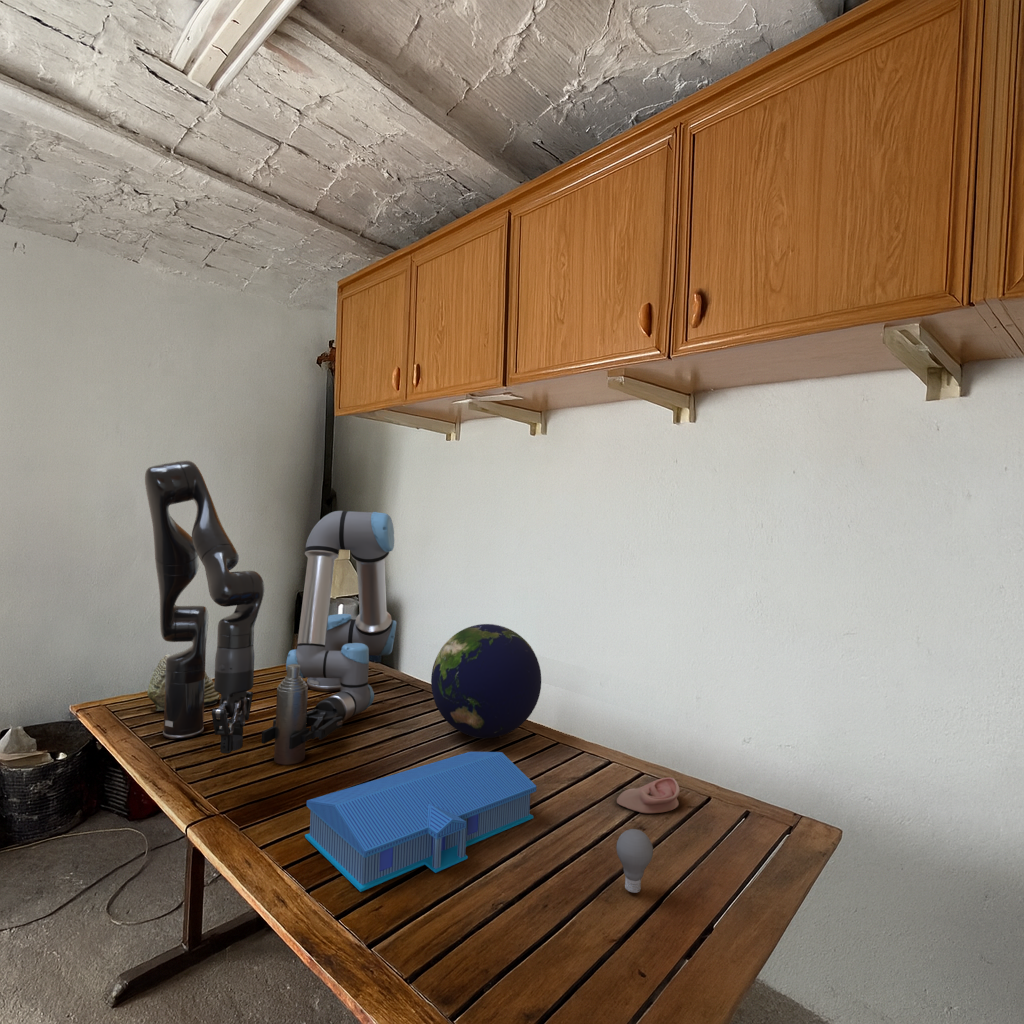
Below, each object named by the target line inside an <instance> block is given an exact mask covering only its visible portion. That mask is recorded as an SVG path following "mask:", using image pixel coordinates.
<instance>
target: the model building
mask: <svg viewBox="0 0 1024 1024" xmlns="http://www.w3.org/2000/svg"><path fill="white" fill-rule="evenodd" d="M537 789H538V788H537V785H536V784H535V783H534V782H533V781H532V780H531V779H530V778H529V777H528V776H527V775H526V774H525V773H524V772H523V771H522V770H521V769H520V768H519V767H518V766H517V765H516V764H515V763H513V761H511V759H510V758H509V757H507V755H505V754H504V752H502V751H468V752H464V753H460V754H457V755H454V756H450V757H447V758H444V759H441V760H437V761H434V762H431V763H427V764H424V765H421V766H418V767H414V768H411V769H407V770H404V771H400V772H398V773H394V774H390V775H387V776H384V777H381V778H377V779H374V780H371V781H366V782H364V783H360V784H357V785H354V786H350V787H347V788H344V789H341V790H340V789H339V790H337V791H334V792H330V793H327V794H324V795H321V796H320V795H319V796H316V797H314V798H310V799H308V800H306V807H307V808H308V809H309V811H310V817H309V819H310V820H309V822H310V823H309V832H308V833H306V834H304V838H305V839H306V840H307V841H308V842H309V843H310V844H311V845H312V846H313V847H314V848H315V849H316V850H317V851H318V852H319V853H320V854H321V855H322V856H323V857H324V858H325V859H326V860H327V861H328V862H329V863H330V864H331V865H332V866H334V868H335V869H336V870H338V872H339V873H340V874H342V875H343V876H344V877H345V879H346V880H348V881H349V882H350V883H351V884H352V885H353V886H354V887H355V888H356V889H357V891H359V892H360V893H363V892H364V891H366V890H370V889H371V888H373V887H375V886H378V885H381V884H382V883H385V882H388V881H389V880H392V879H394V878H397V877H400V876H402V875H404V874H406V873H409V872H410V871H413V870H416V869H418V868H420V867H423V866H426V867H427V868H429V870H431V871H432V872H433V873H435V874H437V873H439V872H441V871H443V870H445V869H448V868H450V867H452V866H455V865H457V864H459V863H461V862H463V861H466V860H469V859H468V857H469V856H468V855H467V854H466V848H467V847H469V846H472V845H474V844H476V843H479V842H482V841H484V840H486V839H488V838H490V837H493V836H496V835H497V834H500V833H502V832H505V831H506V830H507V831H508V830H510V829H512V828H513V827H516V826H519V825H521V824H524V823H526V822H528V821H530V820H533V819H534V815H533V814H531V813H530V812H531V811H530V810H531V794H533V793H535V792H537Z"/></svg>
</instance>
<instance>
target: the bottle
mask: <svg viewBox="0 0 1024 1024" xmlns="http://www.w3.org/2000/svg"><path fill="white" fill-rule="evenodd" d="M308 693H309V688H308V686H307V682H306V681H305V680H304V678H301V676H300V665H298V664H291V665H288V666H287V671H286V676H285V677H284V678H283V679H282V681H280V683H279V684H278V685H277V688H276V707H275V719H276V728H275V738H274V750H273V751H274V755H273V761H274V763H276V764H278V765H283V766H284V765H285V766H287V765H288V766H290V765H295V764H300V763H301V762H303V761H304V760H305V758H306V743H307V741H306V742H304V743H302V744H300V745H298V746H297V747H295V748H293V749H289V739H290V737H291V736H293V735H294V734H296V733H298V732H300V731H302V730H304V729H306V728H307V727H306V724H307V723H306V720H307V712H308V697H309V696H308Z"/></svg>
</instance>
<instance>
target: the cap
mask: <svg viewBox="0 0 1024 1024" xmlns="http://www.w3.org/2000/svg"><path fill="white" fill-rule="evenodd" d="M242 738H243V739H242ZM243 745H244V736H243V737H242V736H241V735H233V748H232V752H235V751H238V750H241V749H242V748H243Z"/></svg>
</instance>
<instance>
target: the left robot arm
mask: <svg viewBox="0 0 1024 1024" xmlns="http://www.w3.org/2000/svg"><path fill="white" fill-rule="evenodd" d="M144 474H145V475H144V486H145V491H146V497H147V502H148V508H149V513H150V518H151V524H152V532H153V534H152V535H153V545H154V546H153V548H154V561H155V562H154V563H155V570H156V574H157V576H156V577H157V584H158V591H159V628H160V630H159V631H160V634H161V637H162V639H163V641H165V642H167V643H192V645H191V646H190V647H188V648H186V649H185V650H182V651H180V652H176V653H174V654H170V655H171V656H169V657H168V658H167V660H166V674H165V705H164V710H163V730H162V737H164V738H166V739H169V740H185V739H190V738H191V739H192V738H194V737H197V736H199V735H202V734H203V732H204V730H205V729H204V726H205V725H204V722H205V721H204V718H205V706H204V693H205V672H206V664H207V663H206V656H207V640H208V639H207V637H208V628H209V611H208V609H207V607H206V606H205V605H176V602H177V601H178V599H179V597H180V595H181V594H182V593H183V591H184V590H186V588H187V587H188V586H189V585H190V584H191V583H192V581H193V580H194V578H195V577H196V576H197V574H198V571H199V569H200V568H199V567H200V563H199V560H200V562H201V563H202V565H203V566H204V571H205V576H206V581H207V587H208V593H209V596H210V598H211V599H212V601H213V602H214V603H215V604H217V605H218V606H220V607H222V608H223V607H226V608H227V607H234V606H236V607H235V609H234V611H233V612H232V613H231V614H229V615H227V616H224V617H223V618H221V619H220V620H219V621H218V623H217V641H216V652H215V658H214V659H215V660H214V681H213V682H214V689H215V691H217V692H219V695H220V698H219V706H218V708H212V710H211V719H212V725H213V726H212V727H213V732H214V735H215V736H220V747H219V748H220V749H219V750H220V751H219V752H220V754H231V753H232V752H233V751H232V748H233V735H241V736H242V737H243V738H242V739H243V740H244V726H245V725H246V721H249V719H250V714H251V709H252V702H253V696H254V692H253V691H250V690H252V689H253V687H254V677H255V649H254V647H255V646H254V645H255V625H256V621H257V619H258V616H259V613H260V609H261V606H262V603H263V600H264V596H265V583H264V580H263V577H262V576H261V575H260V574H259V572H257V571H255V570H240V571H239V570H238V571H231V570H233V569H234V568H235V567H236V566H237V565H238V564H239V562H240V561H239V560H240V557H239V553H238V552H237V551H238V550H237V549H236V547H235V546H234V544H233V542H232V541H231V539H230V537H229V535H228V534H227V532H226V530H225V529H224V527H223V524H222V522H221V520H220V518H219V515H218V512H217V509H216V507H215V504H214V501H213V498H212V496H211V493H210V491H209V488H208V486H207V483H206V480H205V479H204V476H203V474H202V472H201V470H200V469H199V467H198V466H197V465H196V464H195V463H194V462H193V461H191V460H180V461H179V460H178V461H172V462H167V463H162V464H156V465H153V466H149V467H148V468H147V469H146V471H145V473H144ZM190 501H193V502H194V503H195V505H196V514H195V519H194V523H193V526H192V530H191V535H190V534H189V533H188V532H187V531H186V530H185V529H184V528H183V527H181V525H179V524H178V523H177V521H175V520H174V518H173V517H172V516H171V514H170V509H169V508H170V506H171V505H176V504H180V503H185V502H190Z"/></svg>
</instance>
